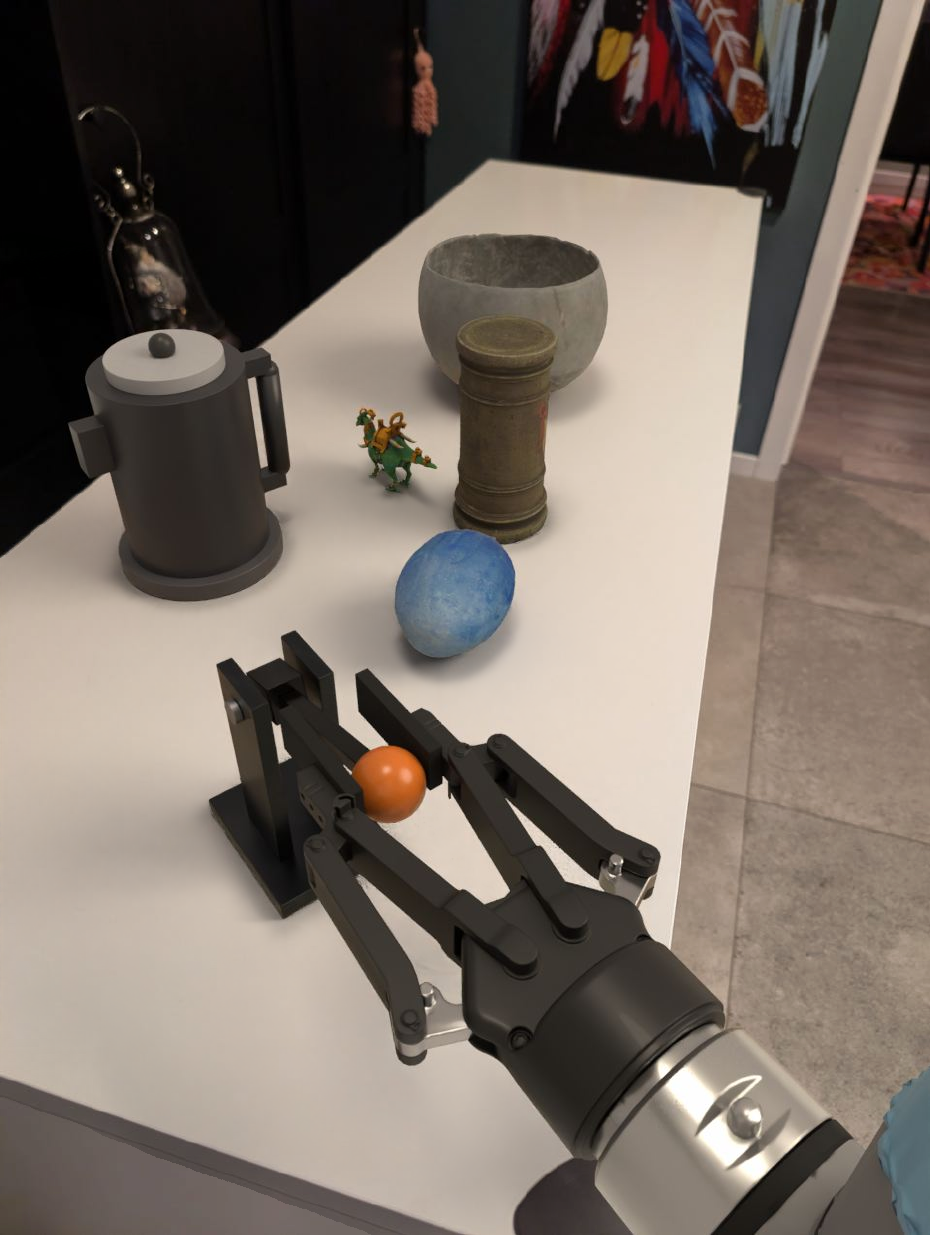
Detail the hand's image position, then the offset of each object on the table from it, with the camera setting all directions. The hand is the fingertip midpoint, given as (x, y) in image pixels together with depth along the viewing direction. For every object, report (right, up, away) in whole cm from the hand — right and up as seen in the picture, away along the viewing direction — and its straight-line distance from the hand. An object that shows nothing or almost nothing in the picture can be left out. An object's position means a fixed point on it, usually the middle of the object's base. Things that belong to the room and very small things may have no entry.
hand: (326, 708), depth 48 cm
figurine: (0, +17, +46) cm, 49 cm away
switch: (0, -3, +2) cm, 4 cm away
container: (+10, +14, +42) cm, 46 cm away
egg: (+7, +4, +31) cm, 32 cm away
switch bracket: (-4, -9, +14) cm, 18 cm away
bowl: (+12, +31, +62) cm, 71 cm away
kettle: (-16, +10, +37) cm, 42 cm away
